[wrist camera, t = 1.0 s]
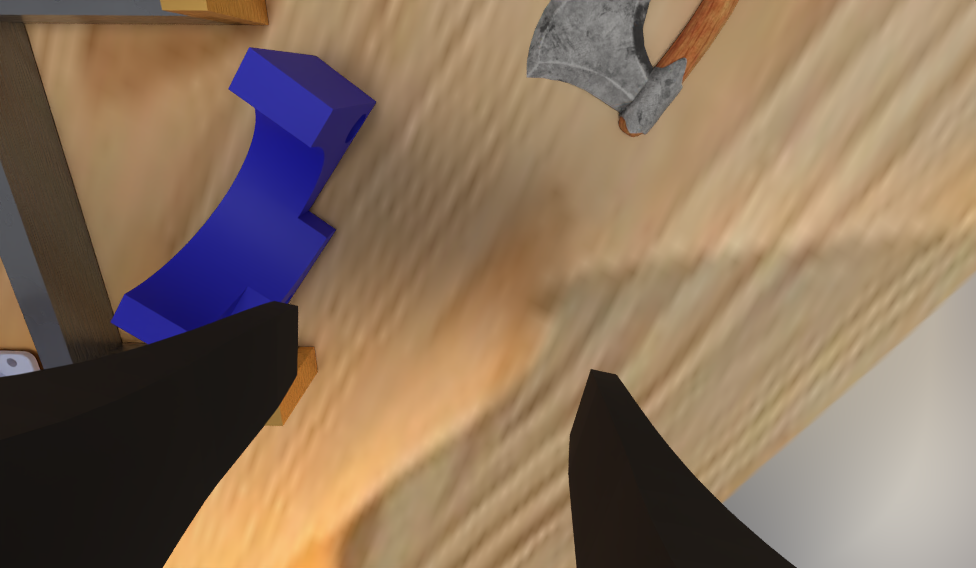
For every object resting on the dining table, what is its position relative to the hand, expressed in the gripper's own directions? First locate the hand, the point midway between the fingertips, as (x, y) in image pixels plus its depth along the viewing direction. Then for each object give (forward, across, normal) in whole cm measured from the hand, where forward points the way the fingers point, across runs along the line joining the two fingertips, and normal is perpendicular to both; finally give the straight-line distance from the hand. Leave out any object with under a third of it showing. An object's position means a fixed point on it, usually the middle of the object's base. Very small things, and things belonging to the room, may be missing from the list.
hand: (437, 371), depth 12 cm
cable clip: (+12, +9, +1) cm, 15 cm away
